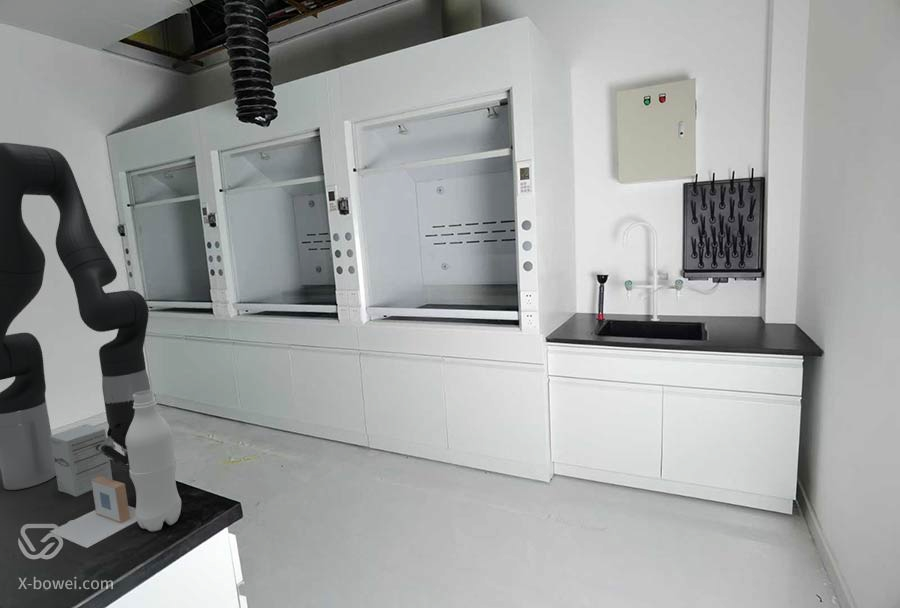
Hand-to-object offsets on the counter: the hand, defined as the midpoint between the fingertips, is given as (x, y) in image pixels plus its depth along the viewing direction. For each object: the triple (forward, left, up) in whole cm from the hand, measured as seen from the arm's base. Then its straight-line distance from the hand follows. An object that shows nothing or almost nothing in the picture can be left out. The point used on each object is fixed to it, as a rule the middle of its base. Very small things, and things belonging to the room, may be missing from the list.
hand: (139, 478), depth 95 cm
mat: (0, -8, -5) cm, 9 cm away
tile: (0, -6, -5) cm, 7 cm away
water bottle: (+11, -3, -6) cm, 12 cm away
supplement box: (-19, -1, -6) cm, 20 cm away
